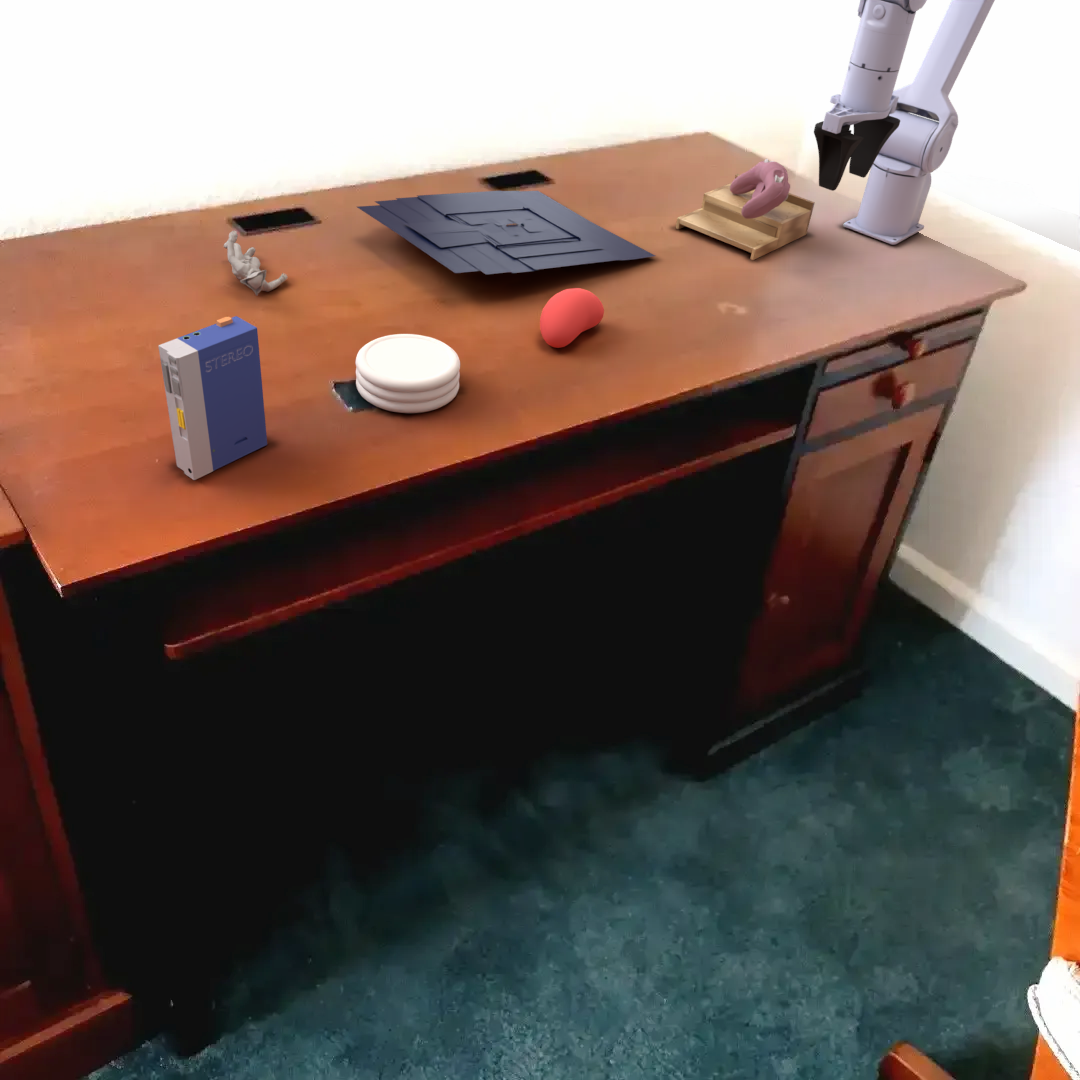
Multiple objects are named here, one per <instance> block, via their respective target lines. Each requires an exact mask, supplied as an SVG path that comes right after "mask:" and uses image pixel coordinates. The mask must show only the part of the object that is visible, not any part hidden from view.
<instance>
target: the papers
mask: <svg viewBox="0 0 1080 1080" xmlns="http://www.w3.org/2000/svg"><path fill="white" fill-rule="evenodd" d="M374 203H376V204H378V205H361V206H356V208H357V209H359V210H361V212H363V213H365V214H367V215H368V216H369V217H371V218H373V219H374V220H376V221H377V222H379V223H380V224H382V225H383V226H385V227H386V228H388V229H390V230H391V231H393V232H394V233H396V234H397V235H399V237H401V238H403V239H405V240H406V241H407V242H409V243H411V244H412V245H413V246H414V247H416V248H417V249H419V250H421V251H422V252H424V253H425V254H427V255H428V256H430V257H431V258H432V259H434V260H435V261H436V262H438V263H440V264H441V265H443V266H444V267H445V268H447V269H448V270H450V271H451V272H453V273H454V274H461V273H471V272H482V273H483V274H485V275H494V274H503V273H511V274H517V273H529V272H536V271H537V272H538V271H540V270H544V269H553V268H561V267H570V266H579V265H588V264H596V263H604V262H613V261H617V262H618V261H619V262H620V261H630V260H639V259H645V258H651V257H656V255H655V254H653V253H651V252H650V251H648V250H647V249H643V248H642V247H640V246H638V245H636V244H635V243H632V242H631V241H628V240H627V239H625V238H623V237H621V236H619V235H617V234H616V233H614V232H611V231H610V230H607V229H605V228H604V227H602V226H600V225H598V224H596V223H594V222H592V221H590V220H589V219H588V218H585V217H584V216H582V215H581V214H579V213H577V212H575V211H573V210H572V209H570V208H568V207H567V206H565V205H564V204H561V203H560V202H558V201H556V200H554V199H553V198H551V197H550V196H548V195H546V194H545V193H543V192H541V191H540V190H487V191H471V192H455V193H454V192H453V193H437V194H419V195H417V196H411V197H395V199H389V200H386V199H385V200H376V201H374Z"/></svg>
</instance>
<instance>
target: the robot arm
mask: <svg viewBox="0 0 1080 1080" xmlns="http://www.w3.org/2000/svg"><path fill="white" fill-rule="evenodd" d="M927 1H928V0H859V3H858V8H857V16H858V17H859V19H860V20H859V24H858V28H857V31H856V35H855V38H854V42H853V46H852V50H851V55H850V58H849V61H848V66H847V70H846V74H845V78H844V81H843V85H842V88H841V92H840V94H838V93H837V94H834V95H831V96H830V99H829V102H830V103H831V104H834V105H833V106H832V108H831V109H830V110H829V111H826V112H825V115H824V117H823V120H822V121H820V122H819V121H818V122H817V123H815V125H814V128H813V134H814V137H815V140H816V145H817V152H818V186H819V187H821V188H824V189H826V190H829V191H832V192H834V191H836V190H837V189H838V187H839V186H840V183H841V181H842V178H843V176H844V173H845V170H846V168H847V166H848V163H849V167H848V173H849V174H850V175H854V176H857V177H860V178H863V179H864V178H866V177H867V175H868V177H867V180H866V184H865V187H864V191H863V195H862V198H861V201H860V204H859V209H858V211H857V215H856V216H855V217H853V218H851V219H848V220H847V221H845V222H843V225H842V226H843V228H846V229H849V230H851V231H855V232H857V233H860V234H863V235H865V236H867V237H871V238H874V239H876V240H879V241H882V242H884V243H887V244H889V245H891V246H892V245H894V246H895V245H898V244H899V243H901V242H903V241H905V240H906V239H908V238H909V237H912V236H913V235H915V234H918V233H919V232H921V231H922V230H924V229H925V225H924V224H922V223H920V220H921V216H922V215H923V214H922V213H923V210H924V208H925V204H926V201H927V198H928V195H929V193H930V188H931V186H932V174H931V173H933V172H935V171H936V170H937V169H938V168H940V167H941V165H942V164H943V162H944V161H945V160H946V158H947V156H948V154H949V152H950V150H951V146H952V142H953V138H954V135H955V133H956V130H957V128H958V126H959V115H958V112H957V111H956V109H955V107H954V105H953V104H952V102H951V100H950V97H949V95H950V93H951V92H952V89H953V88H954V85H955V83H956V81H957V79H958V77H959V75H960V72H961V70H962V69H963V66H964V64H965V62H966V60H967V59H968V56H969V55H970V52H971V50H972V48H973V46H974V44H975V42H976V40H977V38H978V36H979V34H980V32H981V30H982V27H983V25H984V23H985V21H986V19H987V17H988V15H989V13H990V11H991V9H992V7H993V5H994V2H995V1H996V0H951V1H950V3H949V5H948V6H947V9H946V10H945V14H944V15H943V18H942V20H941V22H940V24H939V26H938V29H937V30H936V33H935V34H934V37H933V39H932V41H931V43H930V45H929V46H928V47H929V48H928V49H927V51H926V54H925V55H924V58H923V59H922V62H921V64H920V66H919V68H918V70H917V73H916V74H915V77H914V78H913V81H912V82H911V83H910V84H908V85H905V86H902V87H900V88H897V89H895V86H896V82H897V79H898V76H899V72H900V69H901V65H902V63H903V58H904V55H905V52H906V48H907V44H908V42H909V37H910V34H911V31H912V28H913V23H914V20H915V18H916V14H917V12H918V11H919V10H921V9H923V7H924V6H925V4H926V2H927ZM851 126H853V133H852V130H851Z"/></svg>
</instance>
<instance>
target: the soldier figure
mask: <svg viewBox="0 0 1080 1080" xmlns="http://www.w3.org/2000/svg"><path fill="white" fill-rule="evenodd" d="M238 236H239V235H238V231H237V230H231V231H230V232H229V234H228V239H227V241H226V242H224V244H223V248H224V249H227V254H226V255H227V262H228V263H229V264H230V265H231V268H232V269H231V272H232V274H233V275H234V277H236V279H237V280H239V282H240V283H241V284H243V285H245V286H247V287H248V289H251V290H252V291H253V293H254V295H255V296H258V295H259V294H260V293H261V292H266V293H268V292H271V291H272V290H275V289H277V288H278V287H279V286H280V285H282V283H284V282H286V280H287V279H288V278H289V277H288V276H287V275H288V274H286V273H284V272H282V273H281V275H280V276H279V277H278V278H276V279H274V280H271V281H269V282H268V281H267V280H266V277H267V269H264V270H263V269H262V270H261V269H260V267H261V264H262V263H261V261H260V259H259V258H258V257H256V256H255V254H256V248H255V247H253V246H252V247H249V248H248V249H247V250H246V252H245V253H243V251H242V246H241V245H240V244H239V243H237V240H238Z"/></svg>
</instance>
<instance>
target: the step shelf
mask: <svg viewBox="0 0 1080 1080" xmlns="http://www.w3.org/2000/svg"><path fill="white" fill-rule="evenodd" d="M740 175H741V174H739V173H735V175H734V179H735V178H737V177H738V176H740ZM731 183H732V182H729V183H728V184H724V185H722V186H719V187H717V188H714V189H712V190H709V191H707V192H704V193H703V196H702V202H701V207H700V208H698V209H695V210H693V211H690V212H688V213H685V214H683V215H681V216H678V217H676V223H675V229H676V230H680V229H682V228H685V227H686V228H688V229H692V230H694V231H697V232H698V233H701V234H704V235H706V236H709V237H711V238H714V239H716V240H719V241H720V242H724V243H726V244H728V245H731V246H734V247H736V248H738V249H740V250H743V251H744V252H745V251H746V252H748V253H750V260H751V261H755V260H757V259H759V258H761V257H764V256H765V255H767V254H769V253H771V252H773V251H776V250H777V249H780V248H782V247H783V246H786V245H788V244H790V243H792V242H794V241H796V240H798V239H801V238H802V237H805V236H807V234H808V231H809V226H810V222H811V218H812V216H813V215H812V214H813V211H814V208H815V207H814V206H815V204H816V203H815V201H812V200H809V199H806V198H805V197H801V196H799V195H796V194H793V193H790V192H789V193H788V198H787V200H785V201H784V202H782V203H781V204H780V205H779V206H777V207H775V208H774V209H772V210H771V211H769V212H768V213H766V214H764V215H762V216H760V217H757V218H751V219H746V218H744V217H743V216H742V213H741V211H742V208H743V206H744V205H745V204H746V203H747V202H748V201H749V200H751V199H752V195H753V193H754V191H755V190H752V191H750V192H747V193H744V194H733V193H732V192H731V191H730V186H731Z"/></svg>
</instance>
